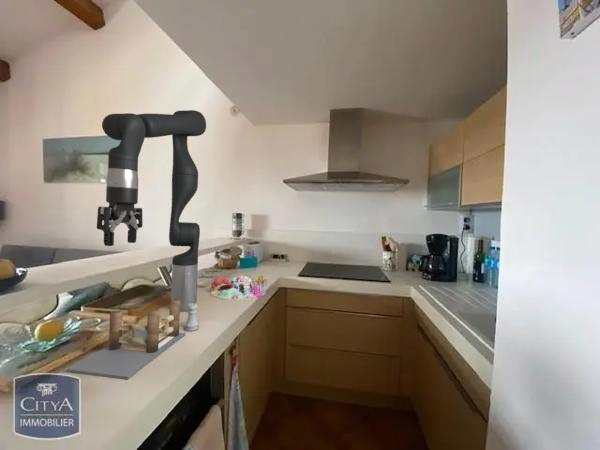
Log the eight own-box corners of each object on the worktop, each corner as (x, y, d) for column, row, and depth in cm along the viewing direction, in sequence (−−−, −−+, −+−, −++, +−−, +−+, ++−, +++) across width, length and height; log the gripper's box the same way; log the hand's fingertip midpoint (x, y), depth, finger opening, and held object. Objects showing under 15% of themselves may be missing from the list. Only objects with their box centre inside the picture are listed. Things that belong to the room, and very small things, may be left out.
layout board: (139, 330, 88) (139, 328, 88) (185, 335, 86) (185, 332, 86) (66, 371, 64) (67, 368, 64) (127, 379, 62) (127, 376, 62)
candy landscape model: (235, 285, 152) (236, 267, 152) (274, 291, 143) (275, 273, 142) (202, 296, 129) (203, 275, 129) (246, 304, 120) (247, 282, 119)
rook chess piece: (193, 325, 94) (194, 301, 94) (202, 328, 92) (203, 303, 92) (181, 329, 90) (182, 304, 90) (190, 332, 88) (191, 307, 88)
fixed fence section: (172, 332, 86) (173, 300, 86) (180, 333, 86) (182, 300, 85) (143, 352, 73) (145, 314, 73) (153, 353, 73) (155, 315, 73)
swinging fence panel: (148, 346, 76) (149, 312, 76) (142, 351, 73) (143, 316, 73) (113, 343, 76) (114, 310, 76) (106, 348, 74) (107, 314, 73)
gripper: (115, 184, 72) (113, 248, 73) (151, 189, 86) (149, 242, 87) (88, 183, 73) (87, 246, 74) (128, 188, 87) (127, 240, 88)
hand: (121, 244), depth 80 cm, fingers open, 8 cm apart
